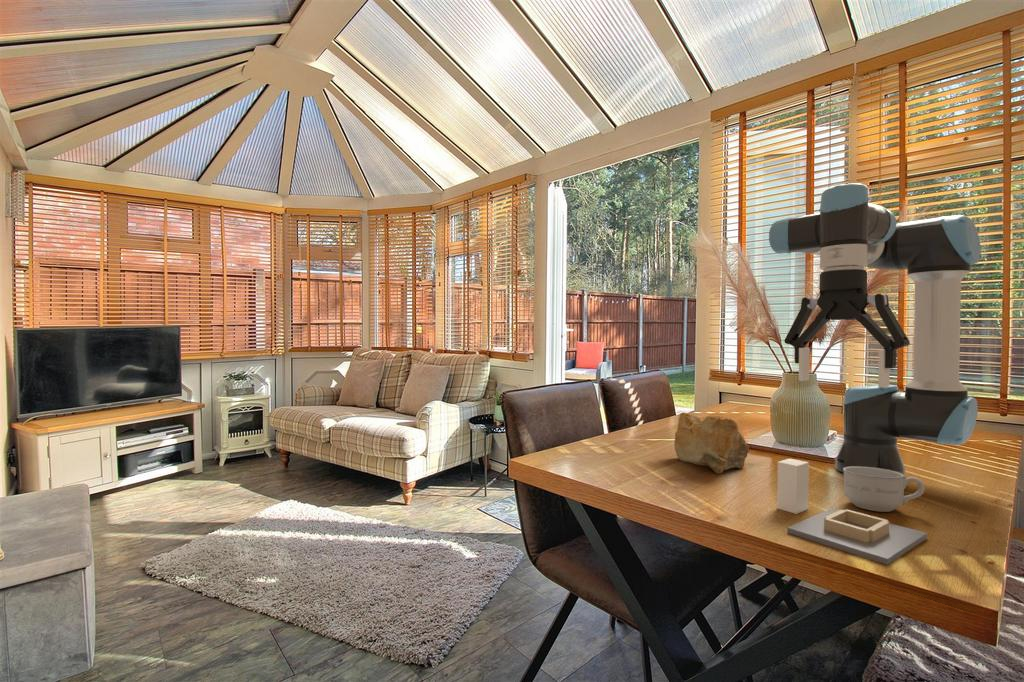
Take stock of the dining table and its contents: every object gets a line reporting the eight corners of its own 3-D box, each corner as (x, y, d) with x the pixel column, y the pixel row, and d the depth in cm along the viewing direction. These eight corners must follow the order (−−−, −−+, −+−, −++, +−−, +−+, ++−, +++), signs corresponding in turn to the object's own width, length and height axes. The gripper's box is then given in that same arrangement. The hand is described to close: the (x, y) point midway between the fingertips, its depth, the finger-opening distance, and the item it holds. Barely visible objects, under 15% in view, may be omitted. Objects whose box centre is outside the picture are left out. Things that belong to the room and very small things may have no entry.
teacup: (836, 507, 110) (837, 470, 110) (849, 495, 117) (849, 461, 117) (919, 525, 100) (919, 484, 100) (927, 511, 108) (927, 473, 107)
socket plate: (831, 512, 107) (832, 498, 106) (927, 538, 93) (927, 522, 93) (787, 532, 96) (787, 517, 96) (887, 564, 83) (887, 546, 83)
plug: (789, 503, 112) (789, 458, 112) (808, 509, 109) (808, 462, 109) (777, 508, 109) (777, 461, 109) (796, 513, 106) (797, 465, 106)
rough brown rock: (772, 479, 133) (775, 421, 133) (715, 478, 129) (719, 419, 130) (717, 460, 156) (720, 410, 156) (668, 458, 152) (671, 408, 152)
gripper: (766, 274, 104) (765, 379, 104) (917, 261, 83) (914, 391, 84) (786, 276, 108) (785, 377, 109) (933, 264, 88) (931, 388, 88)
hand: (841, 383), depth 96 cm, fingers open, 13 cm apart
